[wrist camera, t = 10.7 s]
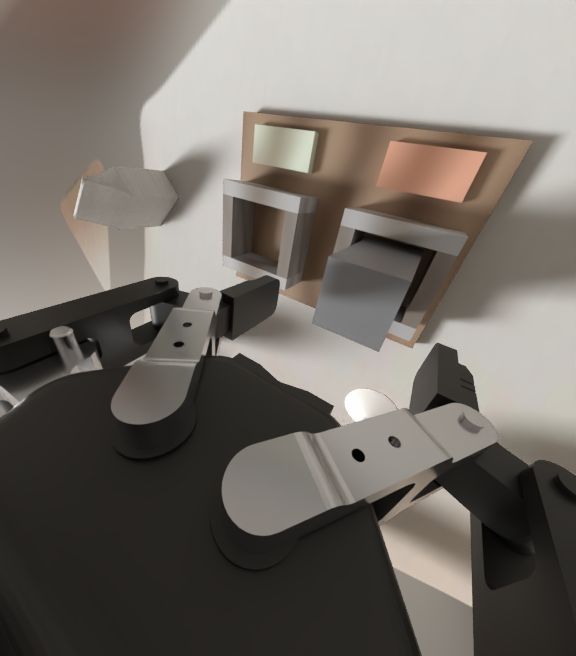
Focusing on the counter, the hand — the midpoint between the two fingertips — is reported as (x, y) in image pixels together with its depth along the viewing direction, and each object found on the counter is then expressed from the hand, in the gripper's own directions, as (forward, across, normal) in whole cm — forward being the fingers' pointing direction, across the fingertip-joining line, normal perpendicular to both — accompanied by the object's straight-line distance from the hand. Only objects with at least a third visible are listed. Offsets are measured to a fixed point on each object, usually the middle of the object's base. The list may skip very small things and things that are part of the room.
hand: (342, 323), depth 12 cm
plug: (+12, 0, 0) cm, 12 cm away
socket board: (+13, +6, -2) cm, 15 cm away
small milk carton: (+14, +32, 0) cm, 35 cm away
